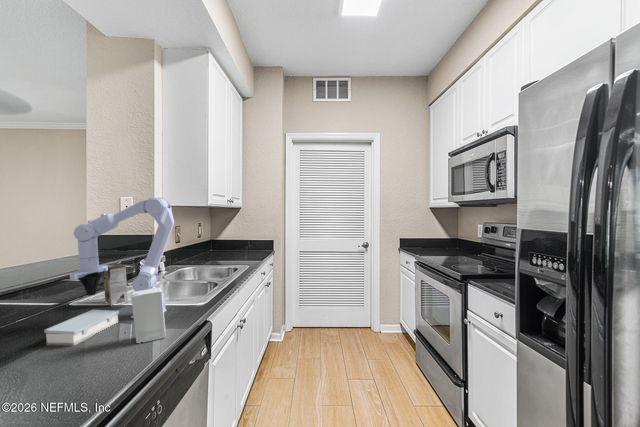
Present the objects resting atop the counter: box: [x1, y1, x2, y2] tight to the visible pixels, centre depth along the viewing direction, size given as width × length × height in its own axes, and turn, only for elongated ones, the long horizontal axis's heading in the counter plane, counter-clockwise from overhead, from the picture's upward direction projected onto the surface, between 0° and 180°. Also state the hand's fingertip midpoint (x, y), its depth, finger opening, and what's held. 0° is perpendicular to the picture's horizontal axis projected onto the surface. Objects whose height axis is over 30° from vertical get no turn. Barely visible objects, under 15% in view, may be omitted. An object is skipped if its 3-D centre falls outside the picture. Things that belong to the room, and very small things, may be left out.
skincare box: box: [130, 286, 167, 344], centre depth 100 cm, size 8×6×15 cm
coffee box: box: [102, 263, 129, 307], centre depth 139 cm, size 9×6×16 cm
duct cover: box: [44, 309, 120, 334], centre depth 106 cm, size 10×18×1 cm, turn 173°
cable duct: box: [45, 313, 119, 347], centre depth 107 cm, size 10×18×4 cm, turn 173°
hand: (91, 294), depth 118 cm, fingers closed
